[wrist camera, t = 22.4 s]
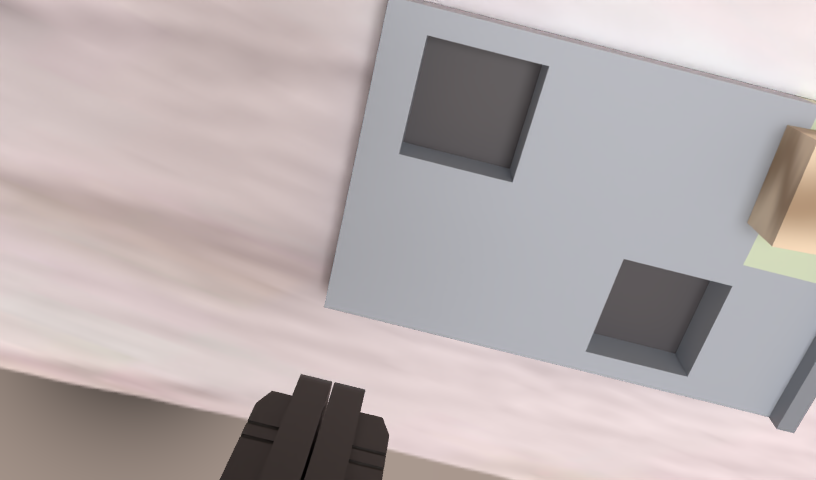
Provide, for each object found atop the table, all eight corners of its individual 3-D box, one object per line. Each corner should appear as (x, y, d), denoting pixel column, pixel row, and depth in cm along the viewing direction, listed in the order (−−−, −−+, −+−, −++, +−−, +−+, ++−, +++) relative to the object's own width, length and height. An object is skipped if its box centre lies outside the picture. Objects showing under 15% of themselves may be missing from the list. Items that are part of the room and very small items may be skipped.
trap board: (394, -7, 39) (386, -3, 35) (918, 126, 39) (967, 145, 35) (332, 286, 47) (320, 316, 43) (767, 394, 47) (794, 433, 43)
